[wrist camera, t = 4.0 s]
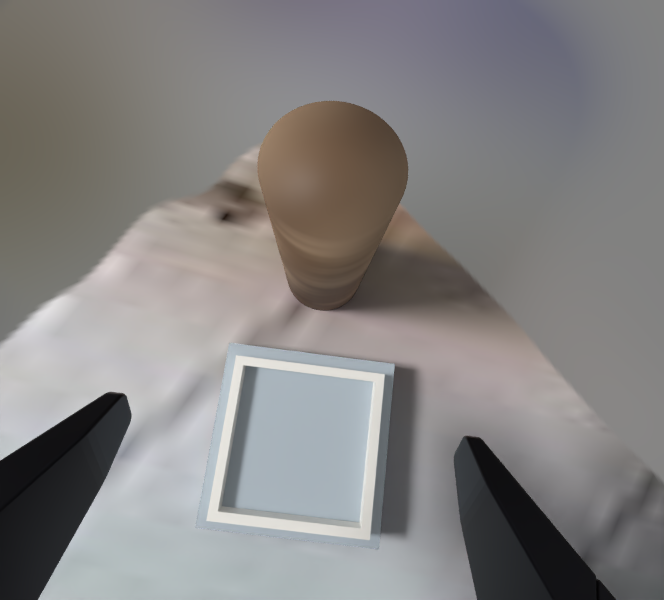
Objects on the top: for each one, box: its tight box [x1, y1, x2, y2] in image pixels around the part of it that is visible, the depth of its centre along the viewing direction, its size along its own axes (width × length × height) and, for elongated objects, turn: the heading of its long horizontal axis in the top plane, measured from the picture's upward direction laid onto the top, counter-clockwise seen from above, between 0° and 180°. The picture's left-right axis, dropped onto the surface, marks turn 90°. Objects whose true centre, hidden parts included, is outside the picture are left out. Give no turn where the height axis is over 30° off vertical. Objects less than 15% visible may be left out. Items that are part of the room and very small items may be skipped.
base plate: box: [195, 343, 395, 549], centre depth 21 cm, size 10×10×3 cm
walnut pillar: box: [258, 101, 408, 310], centre depth 18 cm, size 5×5×13 cm
